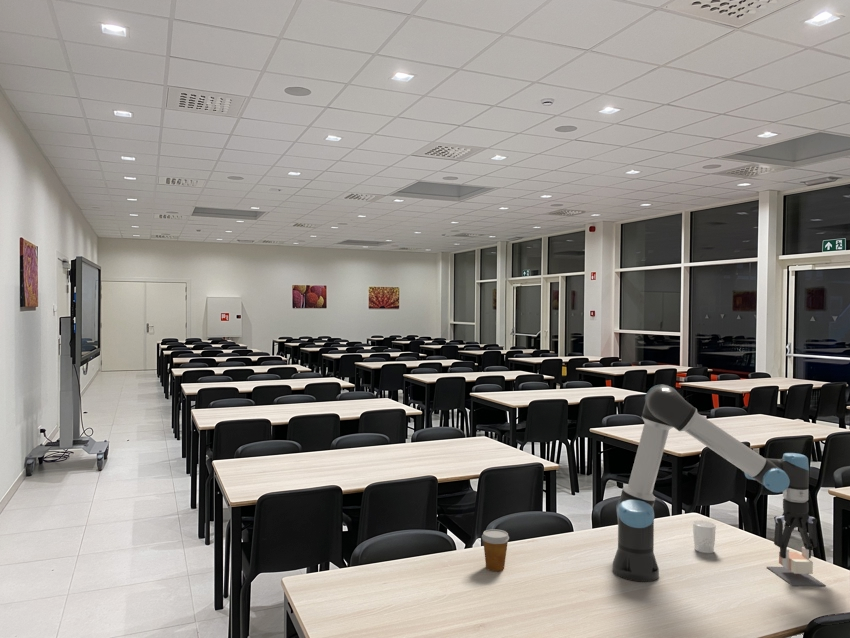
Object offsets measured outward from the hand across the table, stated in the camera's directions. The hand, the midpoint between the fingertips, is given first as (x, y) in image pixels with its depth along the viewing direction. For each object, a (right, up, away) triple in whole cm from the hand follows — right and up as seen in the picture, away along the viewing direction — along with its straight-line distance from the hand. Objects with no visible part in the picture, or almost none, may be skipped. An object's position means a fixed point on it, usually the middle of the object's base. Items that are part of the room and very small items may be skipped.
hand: (795, 567), depth 208 cm
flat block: (0, 0, 0) cm, 0 cm away
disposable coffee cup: (-102, -2, +4) cm, 102 cm away
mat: (0, -3, 0) cm, 3 cm away
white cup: (-20, -3, +24) cm, 31 cm away
